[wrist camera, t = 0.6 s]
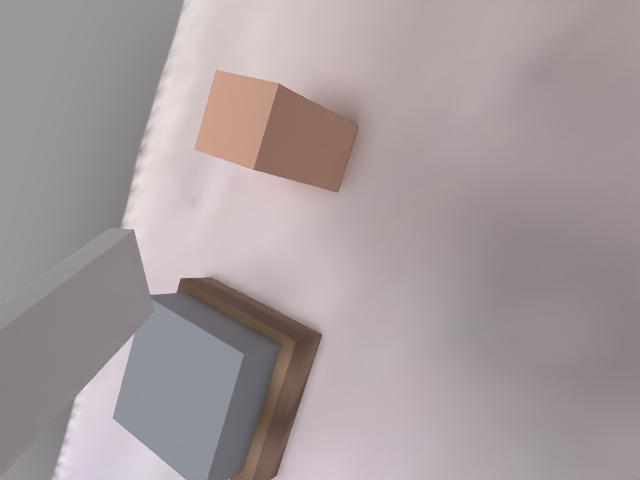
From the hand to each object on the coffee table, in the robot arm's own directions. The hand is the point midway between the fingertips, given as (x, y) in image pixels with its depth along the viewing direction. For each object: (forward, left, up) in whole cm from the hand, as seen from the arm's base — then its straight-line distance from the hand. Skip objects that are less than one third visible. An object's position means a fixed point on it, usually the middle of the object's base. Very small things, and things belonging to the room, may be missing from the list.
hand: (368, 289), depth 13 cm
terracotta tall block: (-4, -16, -21) cm, 26 cm away
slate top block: (+15, -17, -17) cm, 28 cm away
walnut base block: (+15, -17, -21) cm, 31 cm away
